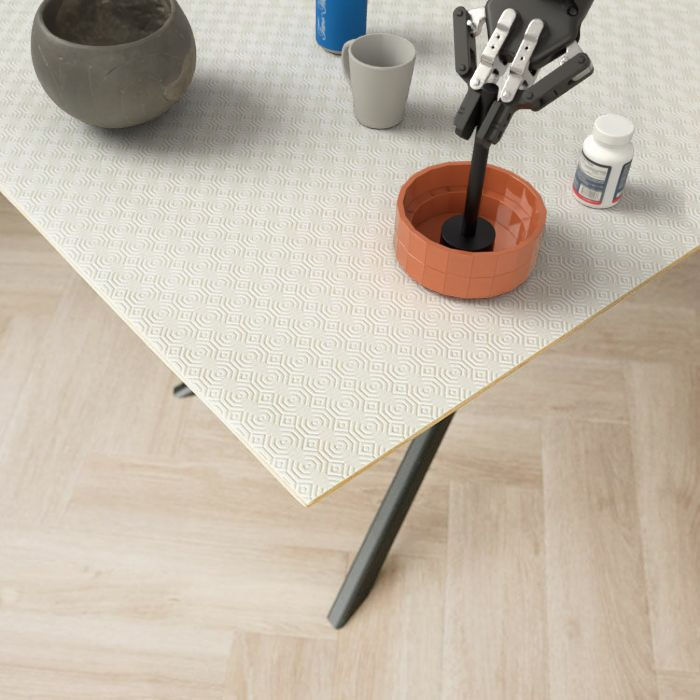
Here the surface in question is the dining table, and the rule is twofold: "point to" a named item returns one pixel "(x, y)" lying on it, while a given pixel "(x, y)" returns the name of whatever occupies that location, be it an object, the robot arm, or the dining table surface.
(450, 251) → the mixing bowl
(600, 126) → the pill bottle
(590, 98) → the dining table surface
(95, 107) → the bowl
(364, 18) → the beverage can
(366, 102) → the cup
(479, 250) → the black plunger
